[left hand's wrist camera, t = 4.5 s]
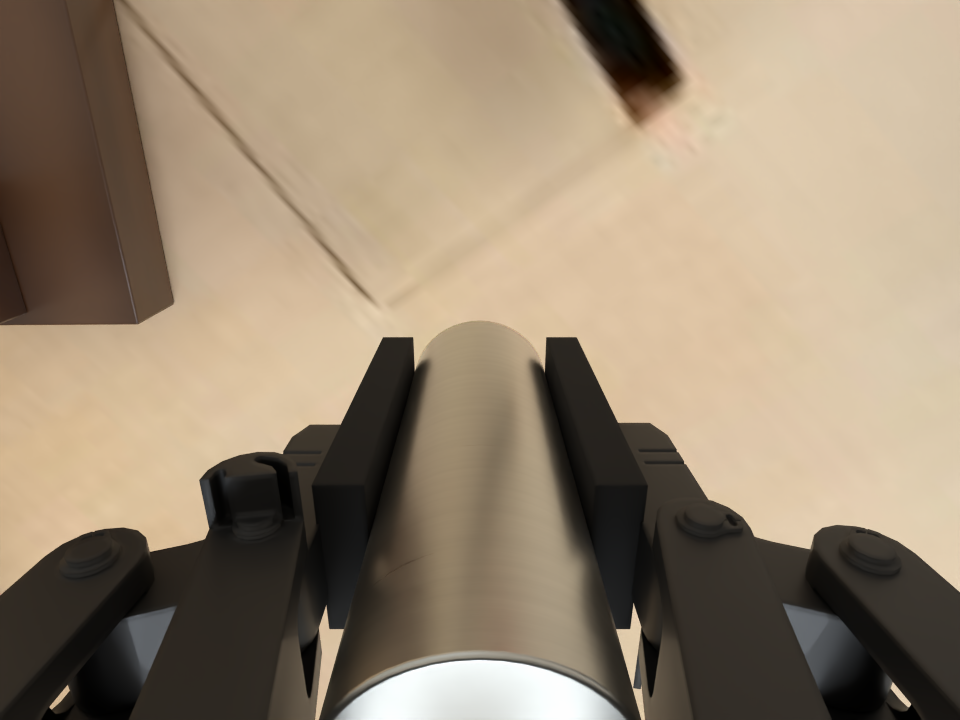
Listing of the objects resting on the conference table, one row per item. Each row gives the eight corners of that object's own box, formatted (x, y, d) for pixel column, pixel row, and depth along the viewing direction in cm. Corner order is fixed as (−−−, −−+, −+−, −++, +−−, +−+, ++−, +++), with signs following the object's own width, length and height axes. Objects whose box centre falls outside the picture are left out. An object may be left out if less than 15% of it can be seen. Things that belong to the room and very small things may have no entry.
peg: (547, 319, 14) (673, 656, 5) (541, 439, 16) (634, 885, 6) (412, 319, 14) (287, 655, 5) (417, 439, 16) (325, 885, 6)
